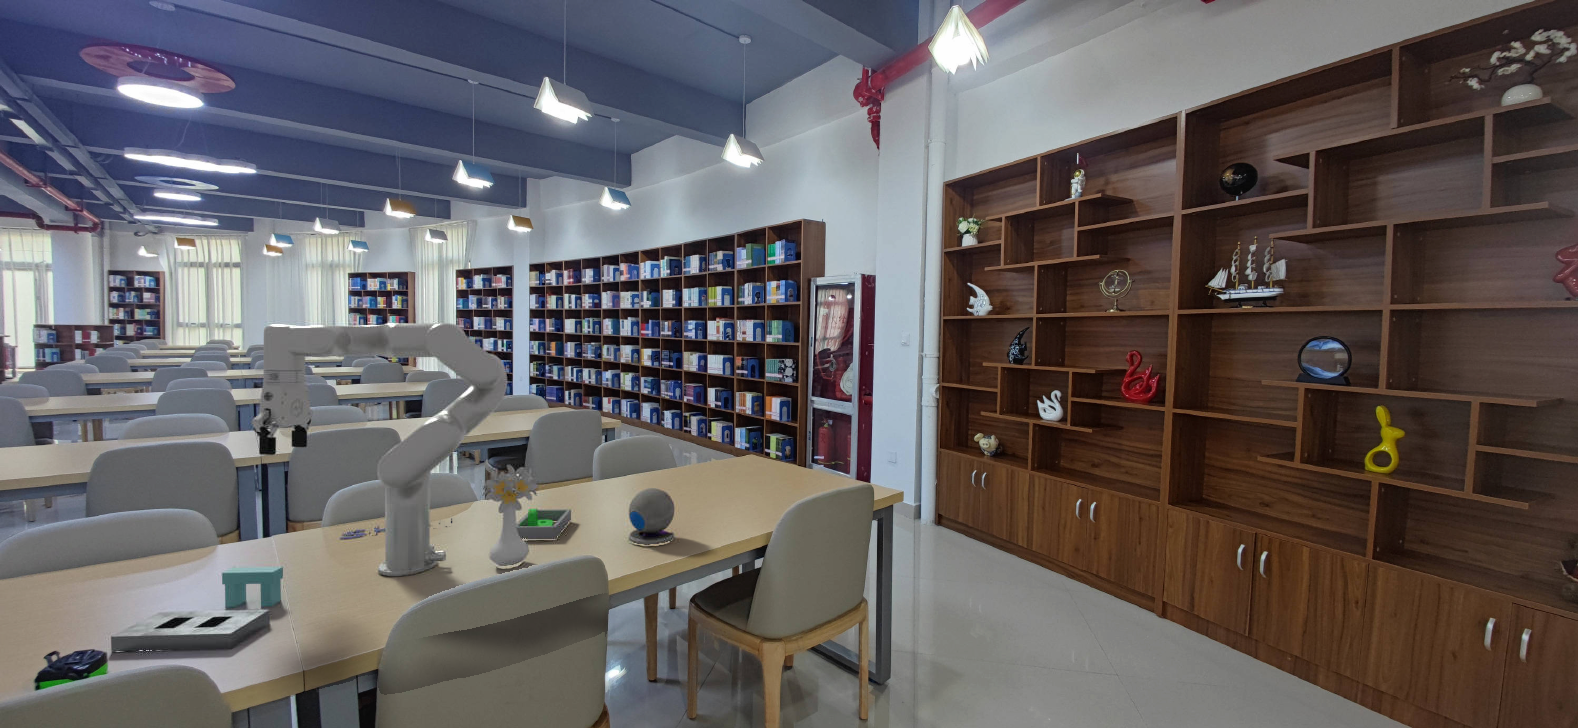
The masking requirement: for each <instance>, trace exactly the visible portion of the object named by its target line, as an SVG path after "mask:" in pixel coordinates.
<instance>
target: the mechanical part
mask: <svg viewBox="0 0 1578 728" xmlns="http://www.w3.org/2000/svg"><path fill="white" fill-rule="evenodd" d="M537 510H538V508H529V509H528V513H527V514H528V526H554V523H553V521H552V520H538V511H537Z"/></svg>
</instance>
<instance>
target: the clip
mask: <svg viewBox="0 0 1578 728" xmlns="http://www.w3.org/2000/svg"><path fill="white" fill-rule="evenodd" d="M283 578H284V566H258V567H257V566H254V567H253V566H252V567H247V566H245V567H231V568H229V569H227V570H225V571H224V572H222V573H221V584H222V585H224V606H225V608H237V607H238V606H241V605H242V604H244V603H245V602H247V585H257V584H259V585H260V608H261V607H263V608H264V607H265V608H266V607H267V608H268V607H272V606H274V605H275V604H276V605H277V604H278V603H280V601H281V599H282V590H281V589H282V585H281V580H282V579H283Z"/></svg>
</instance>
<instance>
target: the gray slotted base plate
mask: <svg viewBox="0 0 1578 728" xmlns="http://www.w3.org/2000/svg"><path fill="white" fill-rule="evenodd" d="M270 615H271V613H270V609H239V610H235V609H234V610H193V611H191V610H189V611H188V610H187V611H159V612H158V613H155V614H154V615H152V616H150V617H148V618H145V619H143V620H141V621H139V622H138V623H136V624H134V625H132V626H129V627H127V628H125V629H123V630H121V631H119V632H117V633H115V634H113V635H111V636H110V648H111V649H110V651H111V652H116V651H139V650H143V651H146V650H149V651H150V650H152V651H151V652H157V651H156V650H172V651H171V652H177V651H178V652H182V651H212V650H214V651H216V650H217V651H218V650H220V651H221V650H232V649H233V648H235V647H236V646H238V645H240V644H241V643H243V642H244V641H246V640H247V639H249V638H251V637H253V636H254V635H255V634H257V633H259V632H260V631H262V630H263V629H264V628H266V627H267V626H269V625H271V618H270V617H271V616H270ZM111 652H110V653H111ZM116 653H117V652H116Z"/></svg>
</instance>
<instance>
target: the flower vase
mask: <svg viewBox="0 0 1578 728" xmlns="http://www.w3.org/2000/svg"><path fill="white" fill-rule="evenodd" d="M506 469H507V471H508V473H505V472H504V471H501V472H500V473H499V474H498V469H493V470H492V471H491V473H490V479H487V480H485V483H484V485H483V487H482V490H485V491H484V492H483V493H482V495H481V497H484V496H485V495H486V496H485V500H486V501H489V500H492V501H494V502H500V504H499V506H498V513H499V514H502V527H501V533H500V535H499V537H498V538H497V541H496V542H495V543H494V544H493V545H492V547H490V549H489V555H488V556H489V559H490V560H491V562H493V563H494V564H495V565H496V564H497V565H499V566H507V565H514V564H517V563H519V562H521V561H522V562H523V561H524V560H525V559H526V558H527V556H528V555H529V553H530V549H529V546H528V543H527V541H523V540H522V539H521V538H520V536H519V534H518V532H517V528H516V524H517V518H516V517H517V515H516V511H519V512H520V511H521V510H522V509H523V507H522V504H521V502H520V501H519V500H521V499H522V498H524V497H525V498H526V499H527V500H528V501H532V500H533V495H532V493H533V494H534V495H535V496H538V494H537V491H536V490H537V489H538V488H539V485H538V484H537V483H535V481H534V480H535V479H534V476H532V468H529V472H528V471H526V468H525V467H522V466H521V467H519V468H518V469H517V470H516V471H515V468H514V467H513V466H512V465H511V464H506ZM513 486H515V488H513Z"/></svg>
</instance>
